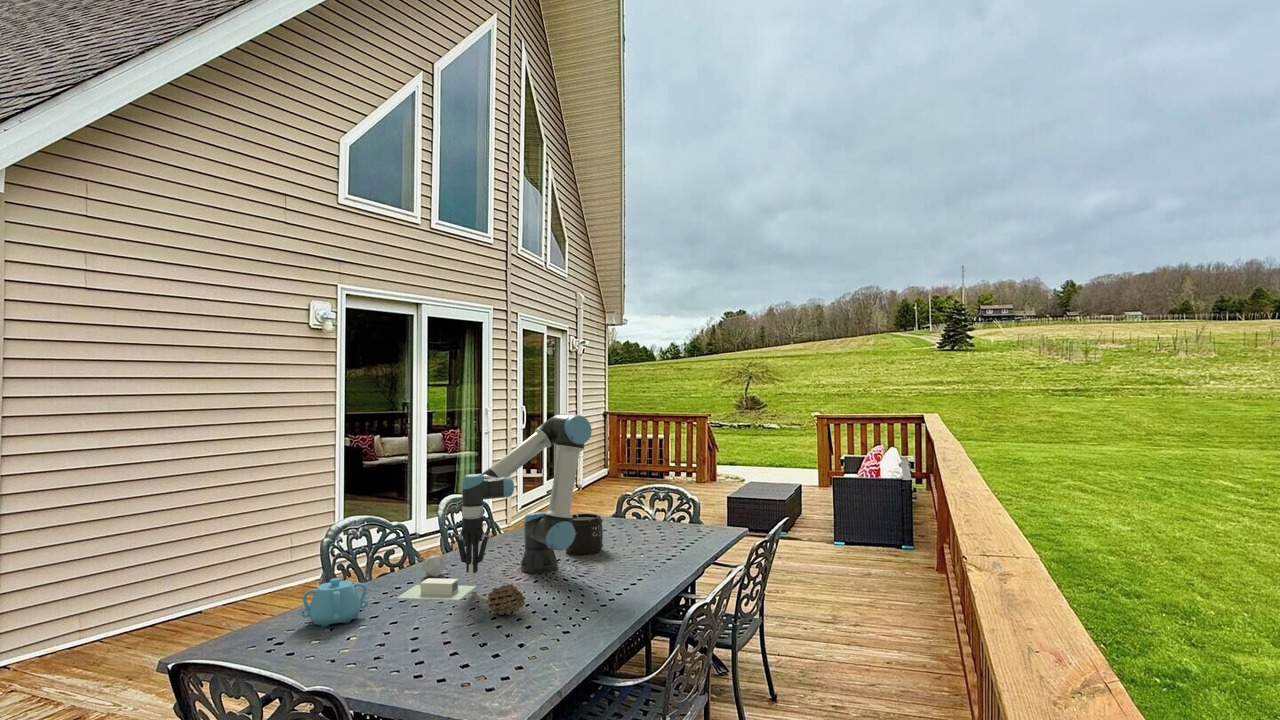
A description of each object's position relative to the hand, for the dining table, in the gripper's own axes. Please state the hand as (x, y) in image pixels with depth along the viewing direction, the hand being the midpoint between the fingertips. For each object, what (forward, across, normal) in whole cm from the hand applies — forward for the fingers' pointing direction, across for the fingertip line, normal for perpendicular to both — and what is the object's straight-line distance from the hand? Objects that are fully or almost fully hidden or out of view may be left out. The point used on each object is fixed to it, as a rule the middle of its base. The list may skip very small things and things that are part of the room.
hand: (471, 581), depth 244 cm
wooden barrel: (+3, -27, -63) cm, 69 cm away
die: (+5, +25, -21) cm, 33 cm away
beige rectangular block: (+2, +7, 0) cm, 7 cm away
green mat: (+5, +14, 0) cm, 14 cm away
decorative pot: (+6, +35, +31) cm, 47 cm away
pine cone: (+5, -16, +20) cm, 26 cm away
